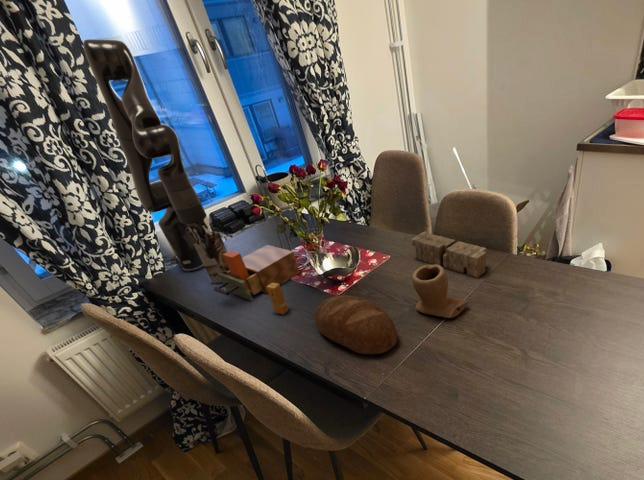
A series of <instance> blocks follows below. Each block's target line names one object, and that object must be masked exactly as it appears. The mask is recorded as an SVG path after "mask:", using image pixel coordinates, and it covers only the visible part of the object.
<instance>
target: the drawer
mask: <svg viewBox="0 0 644 480" xmlns="http://www.w3.org/2000/svg"><path fill="white" fill-rule="evenodd" d="M247 271H248V274H249V276H250V277H248V278H247V279H246V280H247V282H248V285H249V287H250V290H249V289H248V287H247V285H246V282H245V281H243V280H240V279H237V278H235V277H233V276H232V274H231V272H230V270H229V271H228V272H227V274H228V275H226V274H223V273H220V274H219V276H220V278H221V280H222V285H220V286H215V287H214V288H213V290H214V291H215V292H216V293H220V294H221V295H225V296H230V294H233V295H236V296H238V297H241V298H243V299H245V300H249V301H251V300H252V299H253V296H256V294H258V293H260V292H262V291H261V290H263V289H264V288H263V286H262V283H261V281H260V278H259V276H258V273H255V272H252V271H249V270H247ZM222 288H225V289H222Z"/></svg>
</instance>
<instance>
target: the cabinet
mask: <svg viewBox="0 0 644 480" xmlns="http://www.w3.org/2000/svg"><path fill="white" fill-rule="evenodd" d="M242 259H243V262H244V264H245V267H246V269H247V270H249V271H252V272H255V273H258V276H259V278H260V281H261V283H262V286H263V288H264V289H263V290H261V291H260V292H262V293H264V294H269V293H268V290H267V288H266V287H267V286H268V285H269V284H271V283H277V284H280V286H281V285H283V284H284V283H287V281H290V280H291V279H293V278H294V277H296V276H297V275H299V274H300V273H301V272H300V269H299V265H298V262H297V259H296V256H295V252H294V251H293V250H289V249H285V248H282V247H278V246H275V245H270V244H265V245H264V246H262V247H259V248H258V249H255V250H254V251H252V252H250V253H248V254H246V255H245V256H242Z"/></svg>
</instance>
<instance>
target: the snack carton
mask: <svg viewBox="0 0 644 480" xmlns="http://www.w3.org/2000/svg"><path fill="white" fill-rule="evenodd" d="M223 256H224V259H225V261H226V263H227V265H228V267H229V270H230V272H231V274H232V276H233V277H235V278H237V279H240V280H243V281H245V282H246V285H247V287H248V289H249V290H250V287H249V285H248V282H247V280H246V279H247V278H248V277H250V276H249V274H248V271H247V269H246V267H245V264H244V262H243V259H242V258H243V256H242V255H241V253H240V252H237V251H234V250H229V251H227V253H225V254H223Z"/></svg>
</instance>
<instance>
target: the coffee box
mask: <svg viewBox="0 0 644 480" xmlns="http://www.w3.org/2000/svg"><path fill="white" fill-rule="evenodd" d="M214 233H215V245H213V246H212V248H213V250H214V252H215V254H216V257H215V258H213V259H210V258H208V257H207V255H206V253H205V251H204V249H203V248H202V247H201V246H200V245H198V244H197V243H196V242H195V243H194V246H195V248H196V250H197V252H198V254H199V256H200V259H201V261H202V263H203V265H204V267H203V268H204V269H205V271H206V273H207V275H208V276H209V279H210V281H211V283H212V284H221V283H222V280H221V278H220V276H219V274H220V273H223V274H226V275H228V274H227V272H228V271H229V267H228V265H227V263H226V261H225V259H224V256H223V254H225V253H227V252H228V250H227V247H226V245H225V243H224V240H223V238H222V236H221V233H220V232H214ZM222 284H223V283H222Z"/></svg>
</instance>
